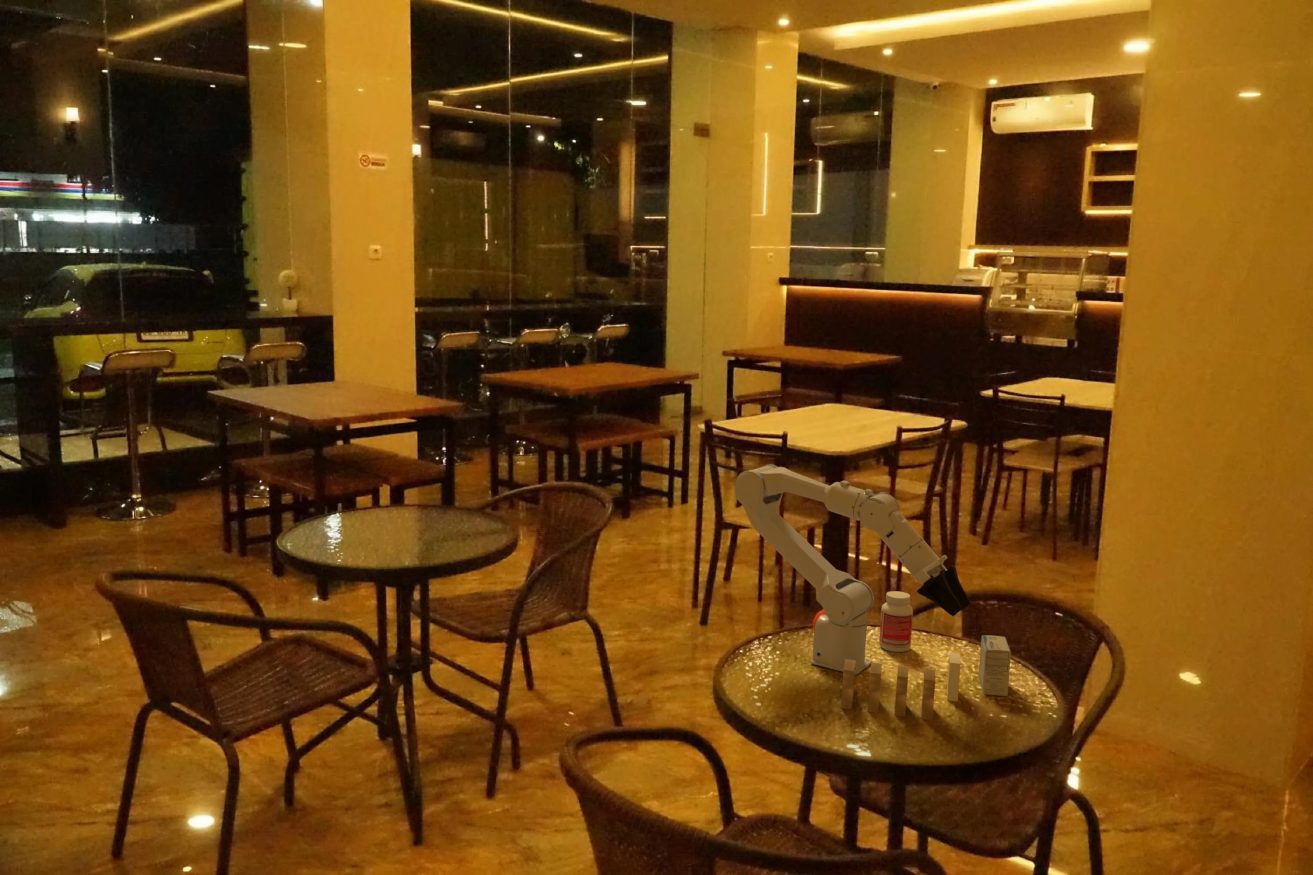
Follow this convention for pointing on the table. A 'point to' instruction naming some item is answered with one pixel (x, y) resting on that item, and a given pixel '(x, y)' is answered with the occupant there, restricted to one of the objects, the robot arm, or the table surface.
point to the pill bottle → (896, 622)
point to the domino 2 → (874, 687)
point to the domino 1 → (848, 684)
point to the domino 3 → (901, 690)
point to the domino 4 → (928, 694)
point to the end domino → (953, 676)
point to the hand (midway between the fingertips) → (962, 609)
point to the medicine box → (994, 665)
